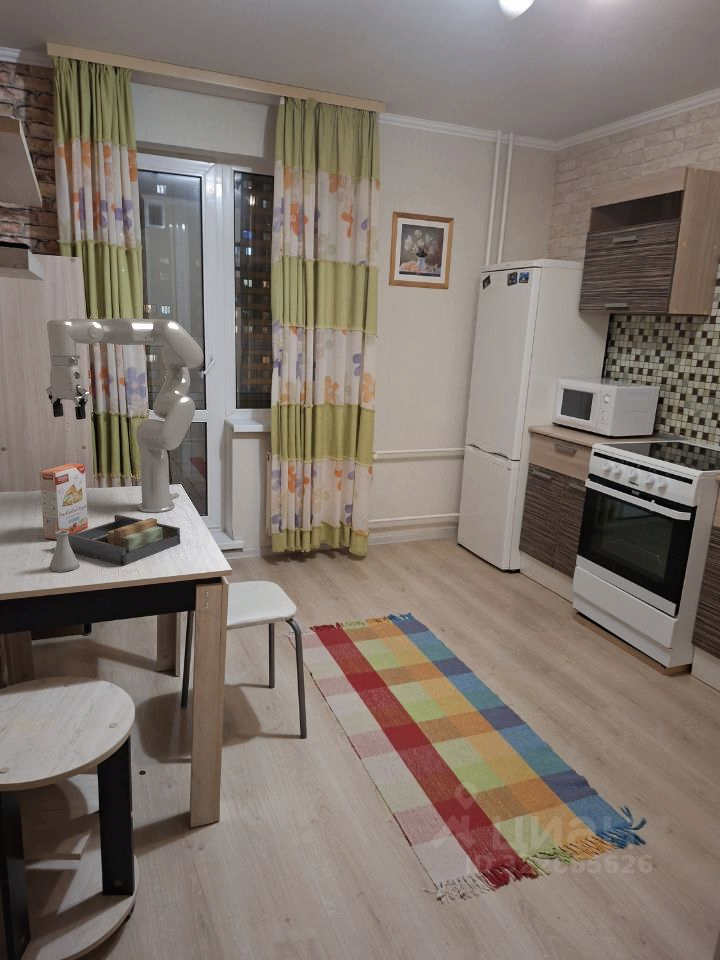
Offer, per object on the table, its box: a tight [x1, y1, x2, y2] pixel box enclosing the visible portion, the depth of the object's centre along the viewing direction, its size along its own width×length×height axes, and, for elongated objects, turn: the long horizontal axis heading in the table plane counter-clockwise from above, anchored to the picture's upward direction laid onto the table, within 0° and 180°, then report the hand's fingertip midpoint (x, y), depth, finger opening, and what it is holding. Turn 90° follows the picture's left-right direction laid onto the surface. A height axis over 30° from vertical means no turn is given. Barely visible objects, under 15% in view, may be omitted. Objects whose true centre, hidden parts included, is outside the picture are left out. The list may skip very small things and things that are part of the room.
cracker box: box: [39, 462, 89, 541], centre depth 200 cm, size 14×6×21 cm, turn 167°
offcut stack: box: [106, 517, 163, 552], centre depth 188 cm, size 14×8×8 cm, turn 153°
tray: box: [68, 514, 181, 566], centre depth 191 cm, size 22×26×5 cm
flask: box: [48, 530, 81, 573], centre depth 173 cm, size 7×7×10 cm
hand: (69, 417), depth 201 cm, fingers open, 9 cm apart
